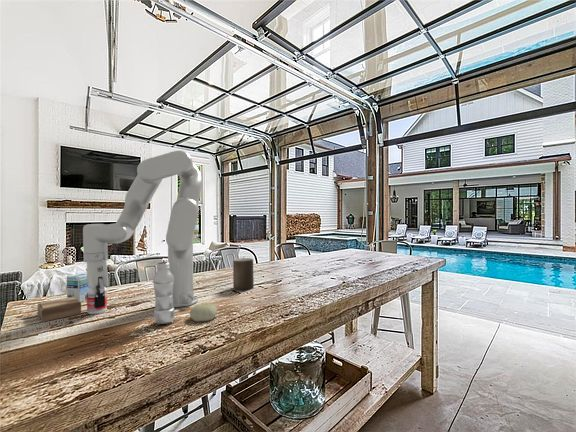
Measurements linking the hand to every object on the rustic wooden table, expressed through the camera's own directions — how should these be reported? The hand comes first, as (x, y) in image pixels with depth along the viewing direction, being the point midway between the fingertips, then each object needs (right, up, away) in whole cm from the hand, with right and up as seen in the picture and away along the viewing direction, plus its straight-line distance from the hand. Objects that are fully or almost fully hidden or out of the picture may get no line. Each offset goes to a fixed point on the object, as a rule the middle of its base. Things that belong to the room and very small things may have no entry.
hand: (97, 304), depth 108 cm
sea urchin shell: (+42, -3, -8) cm, 43 cm away
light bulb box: (-17, -3, +17) cm, 24 cm away
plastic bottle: (+30, -3, -12) cm, 32 cm away
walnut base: (-13, -3, -2) cm, 13 cm away
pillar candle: (+50, -2, +31) cm, 59 cm away
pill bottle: (0, -3, 0) cm, 3 cm away
